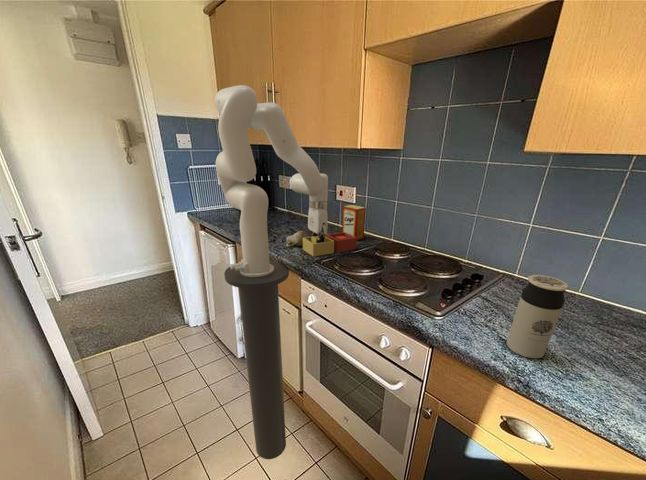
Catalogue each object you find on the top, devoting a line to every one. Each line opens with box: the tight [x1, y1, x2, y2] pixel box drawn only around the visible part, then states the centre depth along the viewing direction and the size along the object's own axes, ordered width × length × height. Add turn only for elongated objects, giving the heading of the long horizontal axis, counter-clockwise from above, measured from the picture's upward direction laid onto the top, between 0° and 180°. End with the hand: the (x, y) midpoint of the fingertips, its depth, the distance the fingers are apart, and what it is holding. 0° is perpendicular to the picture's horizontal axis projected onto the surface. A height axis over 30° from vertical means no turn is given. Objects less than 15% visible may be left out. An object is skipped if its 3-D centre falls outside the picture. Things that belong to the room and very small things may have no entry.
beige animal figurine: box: [285, 230, 309, 248], centre depth 139 cm, size 8×10×10 cm
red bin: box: [326, 231, 358, 253], centre depth 138 cm, size 10×10×6 cm
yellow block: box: [310, 236, 325, 244], centre depth 132 cm, size 4×4×4 cm
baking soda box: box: [341, 204, 367, 241], centre depth 151 cm, size 10×6×16 cm
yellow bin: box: [302, 234, 335, 257], centre depth 132 cm, size 10×10×6 cm
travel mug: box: [505, 274, 570, 359], centre depth 69 cm, size 8×8×18 cm
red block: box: [335, 236, 348, 240], centre depth 138 cm, size 4×4×4 cm
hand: (317, 246), depth 132 cm, fingers closed on yellow block, 4 cm apart
